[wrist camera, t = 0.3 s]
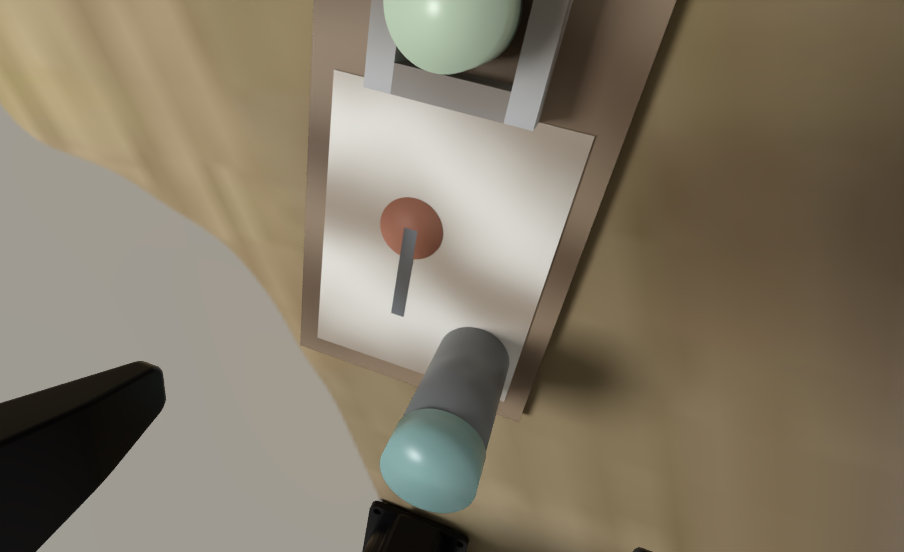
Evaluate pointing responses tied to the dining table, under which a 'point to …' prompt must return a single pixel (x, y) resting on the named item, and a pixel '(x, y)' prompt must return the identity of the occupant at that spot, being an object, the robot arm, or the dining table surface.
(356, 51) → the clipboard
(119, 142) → the dining table surface
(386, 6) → the button
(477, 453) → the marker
